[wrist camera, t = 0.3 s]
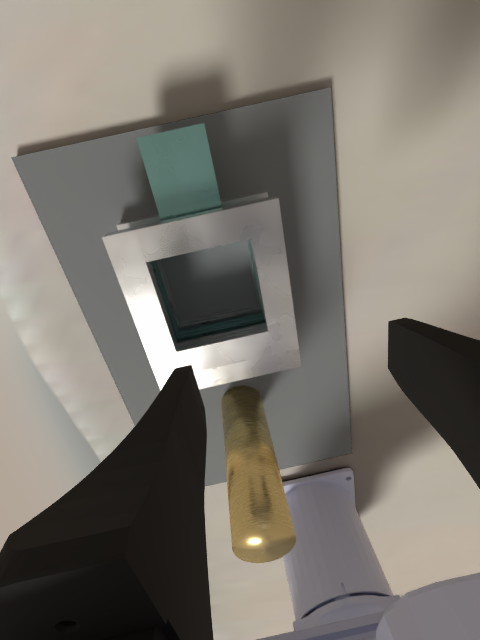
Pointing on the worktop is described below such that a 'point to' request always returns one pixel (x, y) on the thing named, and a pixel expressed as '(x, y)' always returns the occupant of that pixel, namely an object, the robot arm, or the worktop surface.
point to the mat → (216, 262)
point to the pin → (254, 480)
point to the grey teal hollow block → (193, 235)
